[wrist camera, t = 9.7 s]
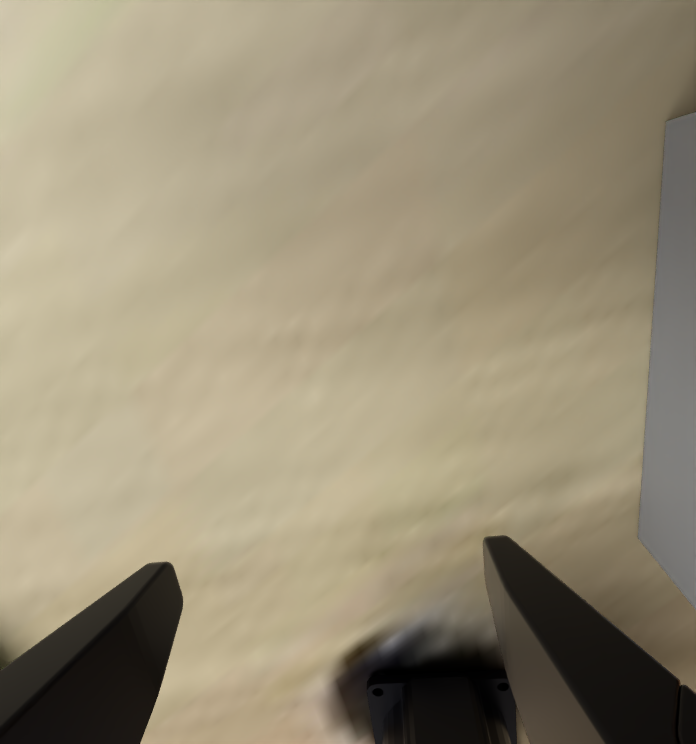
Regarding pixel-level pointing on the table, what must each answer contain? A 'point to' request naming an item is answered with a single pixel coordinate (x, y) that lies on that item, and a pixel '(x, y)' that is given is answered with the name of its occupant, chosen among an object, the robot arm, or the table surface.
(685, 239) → the grey hollow box
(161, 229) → the table surface
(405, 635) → the table surface
